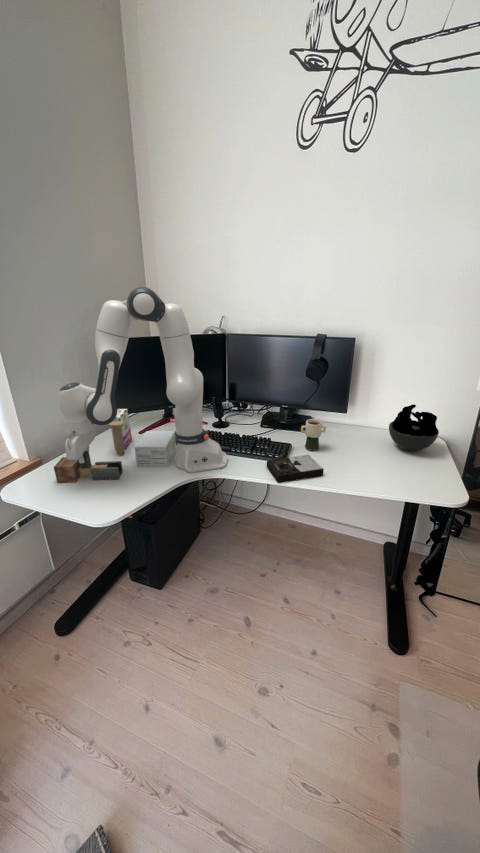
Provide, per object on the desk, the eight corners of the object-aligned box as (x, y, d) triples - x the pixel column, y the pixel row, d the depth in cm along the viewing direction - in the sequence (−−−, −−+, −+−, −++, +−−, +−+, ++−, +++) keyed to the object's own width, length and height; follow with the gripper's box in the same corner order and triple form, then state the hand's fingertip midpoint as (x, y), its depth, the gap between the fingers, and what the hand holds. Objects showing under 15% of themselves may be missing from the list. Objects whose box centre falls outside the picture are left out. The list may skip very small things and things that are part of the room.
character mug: (322, 444, 164) (324, 418, 159) (325, 451, 157) (328, 424, 152) (298, 445, 164) (300, 419, 159) (301, 452, 157) (302, 425, 152)
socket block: (83, 472, 142) (80, 456, 140) (76, 482, 135) (72, 466, 132) (65, 472, 142) (62, 457, 139) (57, 483, 135) (53, 467, 132)
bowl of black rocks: (428, 463, 147) (438, 421, 139) (380, 450, 158) (386, 411, 151) (438, 446, 161) (447, 407, 154) (392, 435, 173) (399, 399, 165)
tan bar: (109, 471, 140) (105, 450, 136) (107, 475, 137) (103, 454, 134) (68, 472, 139) (63, 451, 136) (65, 476, 137) (60, 455, 133)
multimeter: (266, 467, 145) (266, 457, 143) (308, 461, 150) (309, 451, 148) (277, 484, 134) (277, 472, 132) (323, 477, 138) (324, 465, 136)
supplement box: (167, 467, 146) (165, 447, 142) (136, 467, 146) (133, 446, 143) (176, 449, 161) (175, 430, 158) (148, 448, 162) (146, 430, 158)
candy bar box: (122, 440, 170) (117, 408, 164) (132, 440, 170) (128, 408, 164) (114, 450, 160) (108, 417, 153) (125, 450, 160) (120, 417, 153)
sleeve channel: (123, 472, 142) (121, 461, 140) (119, 479, 137) (117, 468, 135) (97, 472, 142) (95, 461, 140) (92, 480, 136) (90, 469, 134)
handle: (125, 456, 154) (121, 425, 148) (111, 456, 155) (106, 425, 149) (129, 451, 159) (125, 421, 153) (115, 451, 159) (110, 420, 153)
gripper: (76, 438, 121) (83, 473, 126) (95, 416, 140) (101, 447, 145) (57, 438, 121) (65, 473, 126) (79, 416, 140) (85, 448, 145)
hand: (84, 459), depth 136 cm, fingers closed on tan bar, 3 cm apart
